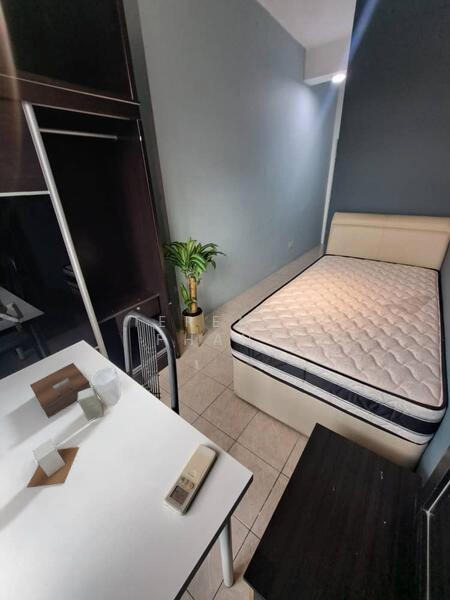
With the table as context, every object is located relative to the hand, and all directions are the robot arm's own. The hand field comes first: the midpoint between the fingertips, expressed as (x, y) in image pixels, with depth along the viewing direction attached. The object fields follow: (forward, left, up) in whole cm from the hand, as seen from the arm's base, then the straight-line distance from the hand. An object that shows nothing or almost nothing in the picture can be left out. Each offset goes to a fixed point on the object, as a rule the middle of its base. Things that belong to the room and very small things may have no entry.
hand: (5, 335), depth 86 cm
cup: (+32, -8, -28) cm, 43 cm away
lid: (+12, -3, -22) cm, 26 cm away
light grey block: (+22, -31, -28) cm, 47 cm away
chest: (+12, -3, -28) cm, 31 cm away
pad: (+22, -31, -28) cm, 47 cm away
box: (+28, -14, -28) cm, 42 cm away
